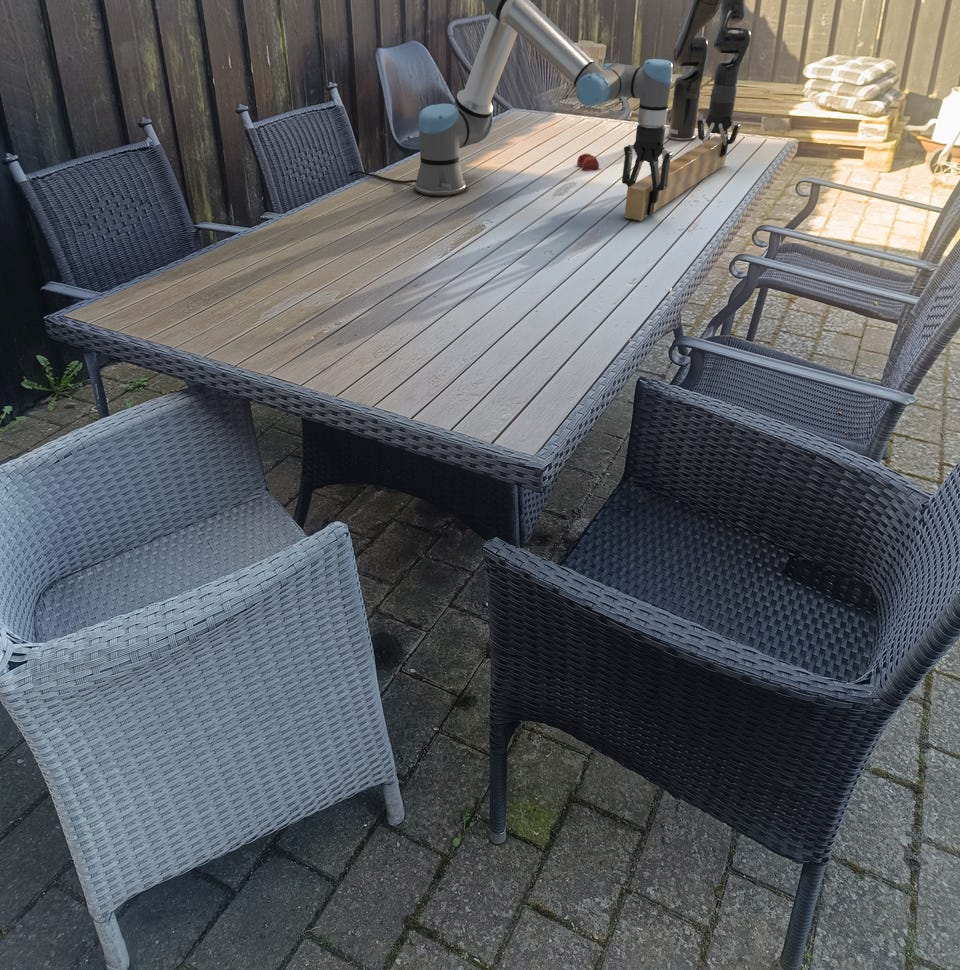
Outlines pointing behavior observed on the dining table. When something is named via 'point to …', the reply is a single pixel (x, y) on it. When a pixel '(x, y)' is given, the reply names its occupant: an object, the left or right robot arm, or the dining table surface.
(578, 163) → the red rounded lump
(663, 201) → the bar
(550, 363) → the dining table surface
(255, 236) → the dining table surface
